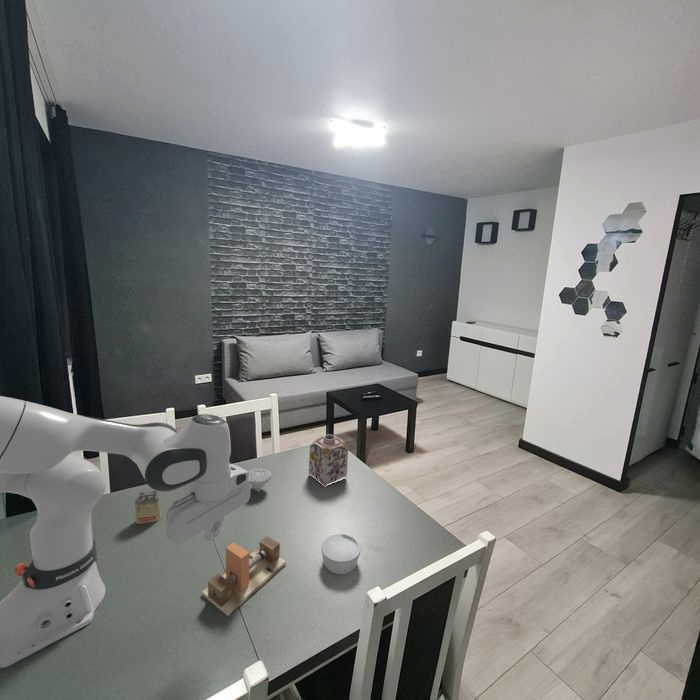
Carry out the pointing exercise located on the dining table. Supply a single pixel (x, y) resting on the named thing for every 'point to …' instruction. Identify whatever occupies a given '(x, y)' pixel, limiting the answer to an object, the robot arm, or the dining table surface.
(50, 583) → the robot arm
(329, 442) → the decorative jar
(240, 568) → the collar
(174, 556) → the dining table surface
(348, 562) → the ramekin
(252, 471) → the showerhead
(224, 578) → the rod stand
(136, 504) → the lighter
